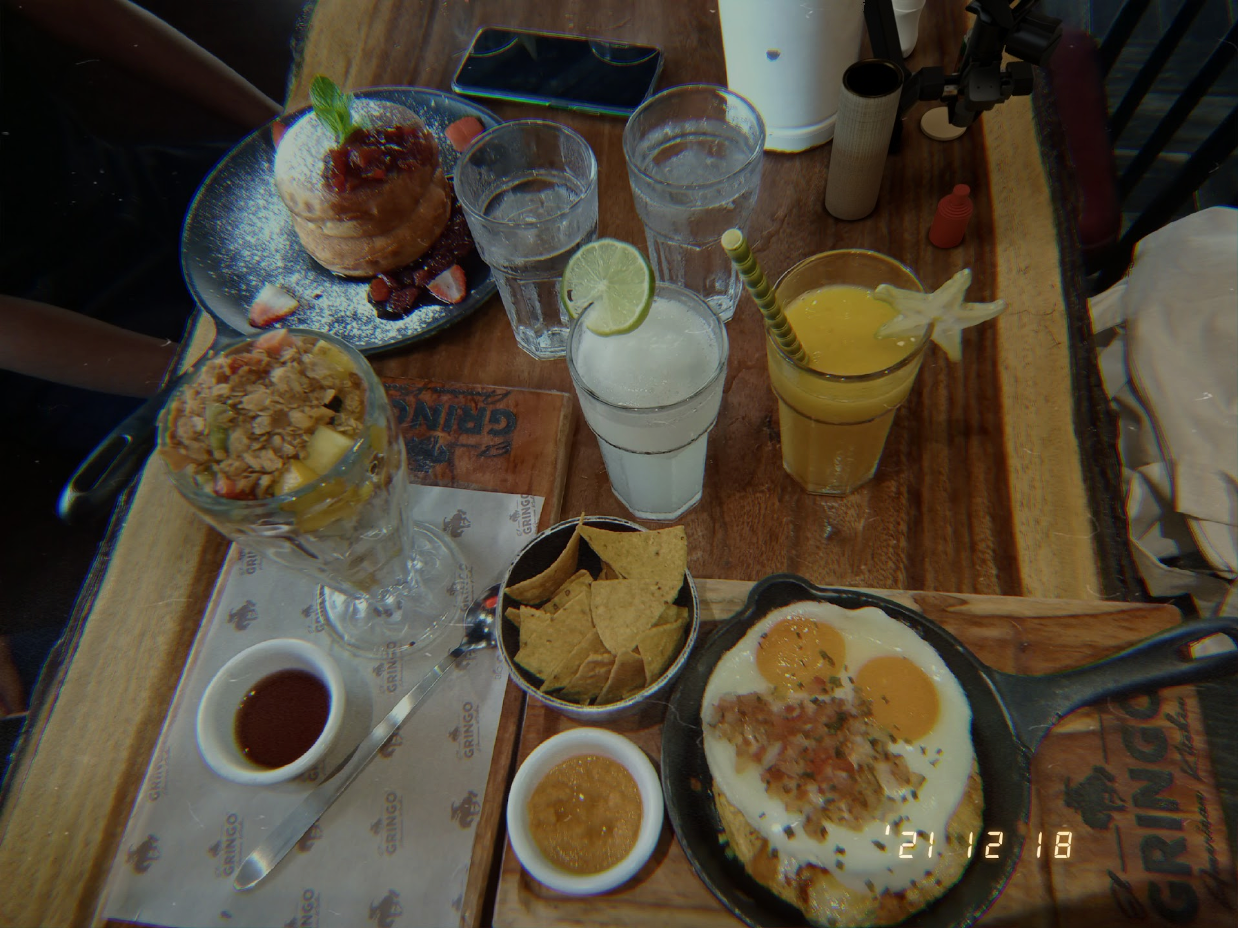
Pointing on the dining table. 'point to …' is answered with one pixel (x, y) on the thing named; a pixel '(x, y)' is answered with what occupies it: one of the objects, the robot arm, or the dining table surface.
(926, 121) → the coaster
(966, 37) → the soda can
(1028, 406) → the dining table surface
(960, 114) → the cap
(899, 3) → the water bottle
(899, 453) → the dining table surface
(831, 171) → the vase
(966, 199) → the sauce bottle
